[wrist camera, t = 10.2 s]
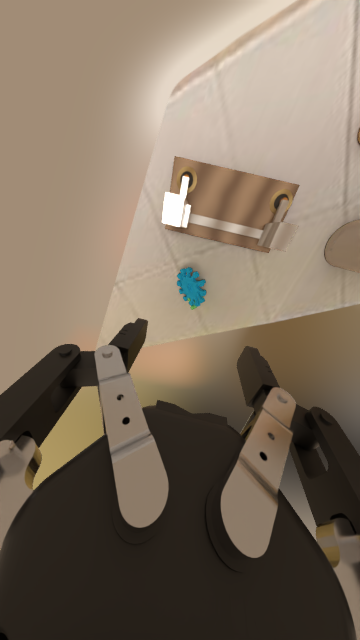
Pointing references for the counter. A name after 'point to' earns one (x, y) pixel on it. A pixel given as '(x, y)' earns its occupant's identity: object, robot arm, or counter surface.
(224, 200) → the plate
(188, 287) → the blue branching piece
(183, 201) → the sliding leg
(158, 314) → the counter surface
